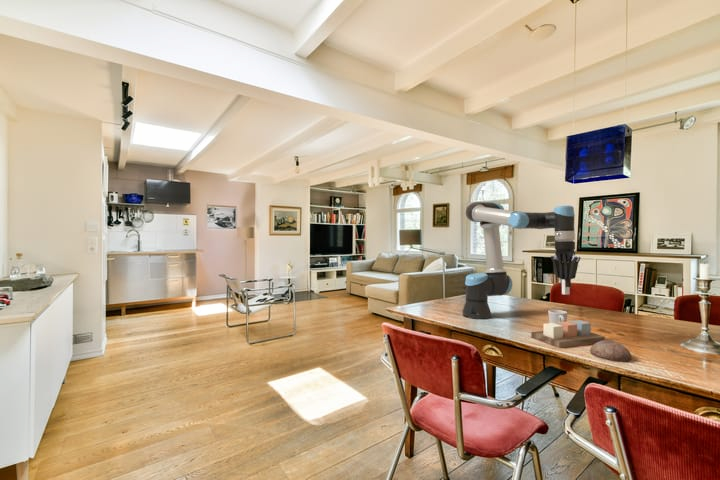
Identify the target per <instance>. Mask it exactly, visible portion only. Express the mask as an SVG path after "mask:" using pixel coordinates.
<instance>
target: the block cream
mask: <svg viewBox="0 0 720 480" xmlns="http://www.w3.org/2000/svg"><path fill="white" fill-rule="evenodd" d="M542 331H543V335H545V336H548V337H550V338H553V339H555V338H563V326H561V325H558V324H555V323H549V322H547V323H543V330H542Z"/></svg>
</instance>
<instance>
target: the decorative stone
mask: <svg viewBox="0 0 720 480" xmlns="http://www.w3.org/2000/svg"><path fill="white" fill-rule="evenodd" d="M589 351H590V354H591V355H592V356H594V357H596V358H599V359H602V360H606V361H611V362H619V363H621V362H622V363H624V362H629V361H631V360H632V357H633V356H632V354H631V352H630V350H629V349H628V348H627V347H626V346H625V345H623V344H621V343H619V342H616V341H613V340H606V339H605V340H603V341H599V342H597V343H595V344H592V345H591V347H590V349H589Z"/></svg>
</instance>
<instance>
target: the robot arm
mask: <svg viewBox="0 0 720 480" xmlns="http://www.w3.org/2000/svg"><path fill="white" fill-rule="evenodd" d="M465 209H466V210H465V216H466V219H468V220H469V222H473V223H479V226H480V228H482V229H483V239H484V250H485V261H486V270H485V271H484V273H483V272H477V273H476V272H475V273H469V274H467V275H466V276H465V282H464V284H465V287H464V288H465V302H464V305H463V308H462V312H461V313H462V314H463V315H465V316H468V317H472V318H471V319H474V318H487V319H490V318H491V317H492V312H491V309H490V305H489V303H488V297H495V296H499V297H501V296H505V295H508V294H509V293H510V292H511V291H512V289H513V280H512V278H511V277H510V275H507V274H508V273H507V270H505V269H504V263H503V262H504V261H503V254H502V253H503V252H502V243H501V233H500V232H501V231H500V227H501V226H508V227H511V228H513V229H518V230H522V229H531V230H532V229H534V230H543V229H547V230H548V229H554V241H555V242H554V250H555V254H554V255H552V256H550V259H551V261H552V263H553V268H554V269H553V270H554V273H555V277H556V278H559V280H560V286H561V295H567V296H568V295H570V293H571V292H570V291H571V290H570V289H571V286H572V280H573V279H576V276H577V271H578V267H579V262H580V261H581V259H582V258H581V257H580V256H578V255H576V252H575V249H576V241H575V240H576V233H575V232H576V231H575V216H576V215H575V208H574V206H572V205H558V206H555V207H554V208H553V211H550V212H548V211H547V212H526V211H516V210H509V209H505V208H504V206H503V205H501V204H500V203H498V202H493V201H491V202H485V201H484V202H483V201H482V202H481V201H480V202H479V201H475V202H472V203H469V205H467V207H466V208H465ZM463 315H462V316H463ZM465 316H464V317H465ZM468 317H467V318H468Z"/></svg>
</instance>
